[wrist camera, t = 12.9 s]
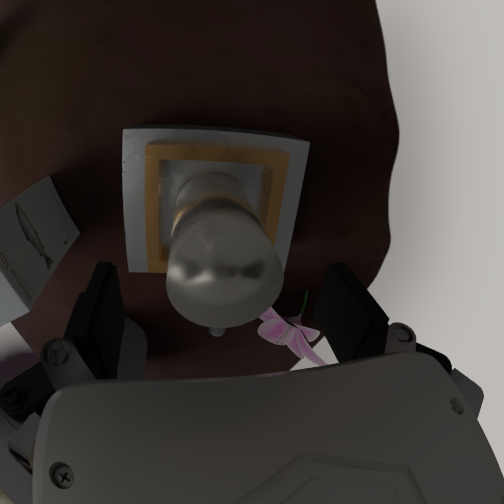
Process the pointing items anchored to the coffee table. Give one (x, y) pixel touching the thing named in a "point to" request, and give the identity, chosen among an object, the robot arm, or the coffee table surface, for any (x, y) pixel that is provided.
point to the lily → (290, 333)
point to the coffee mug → (132, 352)
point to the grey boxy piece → (198, 163)
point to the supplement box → (31, 246)
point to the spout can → (220, 256)
